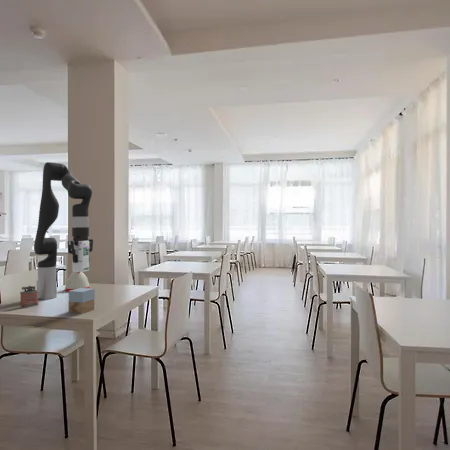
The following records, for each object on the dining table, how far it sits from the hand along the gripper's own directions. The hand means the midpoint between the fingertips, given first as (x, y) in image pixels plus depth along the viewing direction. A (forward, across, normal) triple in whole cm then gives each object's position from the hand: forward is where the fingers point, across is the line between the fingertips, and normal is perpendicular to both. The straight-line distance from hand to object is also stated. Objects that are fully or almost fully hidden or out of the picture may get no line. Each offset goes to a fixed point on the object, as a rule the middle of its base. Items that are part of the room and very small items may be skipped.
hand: (80, 261), depth 172 cm
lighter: (+23, +2, -32) cm, 39 cm away
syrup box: (+5, 0, 0) cm, 5 cm away
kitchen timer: (+24, -41, -43) cm, 64 cm away
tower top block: (+18, 0, 0) cm, 18 cm away
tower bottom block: (+23, 0, 0) cm, 23 cm away
